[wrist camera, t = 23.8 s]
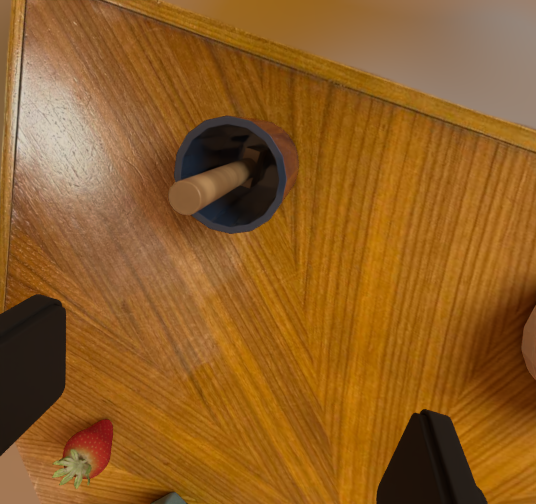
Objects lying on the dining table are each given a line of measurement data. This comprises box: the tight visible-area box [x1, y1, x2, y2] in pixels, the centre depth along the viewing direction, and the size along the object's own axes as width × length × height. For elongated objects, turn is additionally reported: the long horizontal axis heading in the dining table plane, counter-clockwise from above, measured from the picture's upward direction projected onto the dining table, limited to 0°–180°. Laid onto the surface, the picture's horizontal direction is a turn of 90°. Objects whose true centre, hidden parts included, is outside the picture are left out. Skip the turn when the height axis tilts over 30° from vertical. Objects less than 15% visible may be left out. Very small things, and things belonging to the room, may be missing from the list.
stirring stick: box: [168, 145, 267, 215], centre depth 24 cm, size 3×2×16 cm, turn 163°
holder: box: [174, 116, 299, 234], centre depth 28 cm, size 7×7×9 cm
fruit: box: [52, 419, 113, 489], centre depth 41 cm, size 5×5×8 cm
